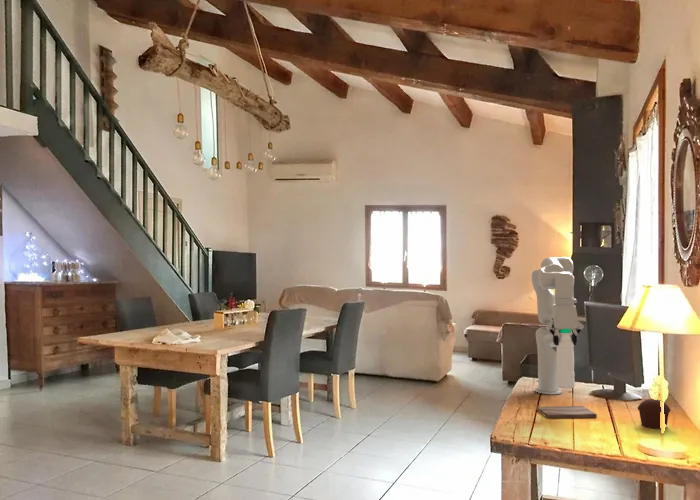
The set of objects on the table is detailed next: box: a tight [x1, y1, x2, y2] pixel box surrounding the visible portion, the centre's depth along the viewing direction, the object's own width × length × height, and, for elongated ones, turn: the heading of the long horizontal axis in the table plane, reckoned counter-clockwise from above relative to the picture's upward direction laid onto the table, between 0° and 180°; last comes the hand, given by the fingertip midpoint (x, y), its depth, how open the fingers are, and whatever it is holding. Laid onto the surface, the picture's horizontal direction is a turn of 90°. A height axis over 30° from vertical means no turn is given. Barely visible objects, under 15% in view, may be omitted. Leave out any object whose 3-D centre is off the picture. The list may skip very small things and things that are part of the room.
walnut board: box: [536, 405, 598, 419], centre depth 257 cm, size 14×20×2 cm
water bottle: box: [555, 328, 576, 390], centre depth 257 cm, size 7×7×25 cm
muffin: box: [637, 398, 671, 430], centre depth 238 cm, size 12×11×10 cm
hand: (564, 344), depth 257 cm, fingers closed on water bottle, 6 cm apart
